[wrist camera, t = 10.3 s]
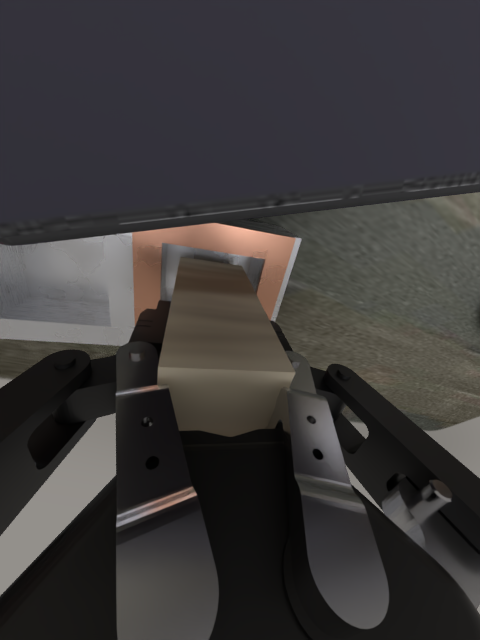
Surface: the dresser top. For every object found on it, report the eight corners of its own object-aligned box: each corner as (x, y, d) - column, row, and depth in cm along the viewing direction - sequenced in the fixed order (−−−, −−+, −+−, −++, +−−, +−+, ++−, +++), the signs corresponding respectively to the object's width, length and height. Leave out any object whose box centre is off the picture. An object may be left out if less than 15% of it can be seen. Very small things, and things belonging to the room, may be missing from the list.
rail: (-275, 115, 11) (-509, 85, 7) (281, 226, 17) (303, 239, 14) (-153, 291, 15) (-261, 326, 12) (254, 326, 22) (265, 356, 18)
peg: (180, 256, 15) (157, 366, 6) (241, 265, 15) (295, 372, 7) (176, 311, 16) (154, 452, 8) (231, 317, 17) (263, 448, 9)
